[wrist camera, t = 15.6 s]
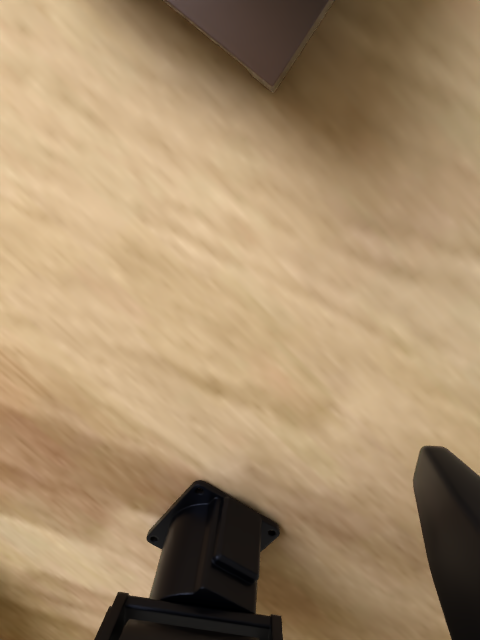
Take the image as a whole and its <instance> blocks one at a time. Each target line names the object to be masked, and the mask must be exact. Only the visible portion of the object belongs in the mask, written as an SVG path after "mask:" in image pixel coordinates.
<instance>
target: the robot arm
mask: <svg viewBox="0 0 480 640" xmlns="http://www.w3.org/2000/svg"><path fill="white" fill-rule="evenodd" d="M413 487H414V493H415V498H416V503H417V508H418V513H419V518H420V523H421V528H422V533H423V538H424V543H425V548H426V553H427V558H428V563H429V567H430V571H431V574H432V578H433V581H434V585H435V588H436V591H437V594H438V597H439V601H440V604H441V607H442V610H443V613H444V616H445V620H446V623H447V626H448V629H449V632H450V636H451V639H452V640H480V476H479V475H477V474H476V473H475V472H474V471H473V470H471V469H470V468H469V467H468V466H467V465H466V464H464V463H463V462H462V461H461V460H460V459H459V458H457V457H456V456H455V455H454V454H453V453H452V452H450V451H449V450H448V449H446V448H445V447H440V446H424V447H422V448H421V450H420V453H419V457H418V461H417V465H416V469H415V473H414V477H413ZM198 488H200V489H198ZM279 534H280V527H279V525H278V524H277V523H275V522H273V521H271V520H270V519H268V518H266V517H265V516H263V515H261V514H259V513H258V512H256V511H254V510H253V509H251V508H249V507H247V506H246V505H244V504H242V503H240V502H239V501H237V500H235V499H234V498H232V497H230V496H228V495H227V494H225V493H223V492H222V491H220V490H218V489H216V488H215V487H213V486H211V485H209V484H208V483H206V482H204V481H201V480H198V481H195V482H193V484H192V485H191V486H190V487H189V488H188V489H187V490H186V491H185V492H184V493H183V494H182V495H181V497H180V498H179V499H178V500H177V501H176V502H175V503H174V504H173V505H172V506H171V507H170V508H169V510H168V511H167V512H166V513H165V514H164V515H163V516H162V517H161V518H160V519H159V520H158V521H157V523H156V524H155V525H154V526H153V527H152V528H151V529H150V530H149V532H148V535H147V541H148V542H149V543H151V544H153V545H155V546H157V547H158V548H160V549H162V552H161V556H160V560H159V563H158V567H157V571H156V575H155V578H154V582H153V586H152V589H151V593H150V597H149V598H143V597H136V596H130V595H129V593H123V592H118V594H117V596H116V598H115V601H114V603H113V605H112V606H110V607H109V609H108V611H107V612H106V615H105V617H104V620H103V622H102V624H101V626H100V628H99V631H98V633H97V635H96V637H95V639H94V640H283V634H282V620H281V616H279V615H273V614H271V616H266V615H259V614H256V596H257V580H258V579H259V570H260V552H261V551H262V550H263V549H265V548H266V547H267V546H268V545H269V544H270V543H271V542H273V541H274V540H275V539H276V538H277V537H278V536H279Z"/></svg>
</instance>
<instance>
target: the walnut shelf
mask: <svg viewBox="0 0 480 640" xmlns="http://www.w3.org/2000/svg"><path fill="white" fill-rule="evenodd" d="M163 1H164V2H165V3H166V4H168V5H169V6H170V7H171V8H173V9H174V10H175V11H176V12H178V13H179V14H180V15H181V16H182V17H184V18H185V19H186V20H187V21H189V22H190V23H191V24H192V25H194V26H195V27H196V28H197V29H199V30H200V31H201V32H202V33H204V34H205V35H206V36H207V37H208V38H210V39H211V40H212V41H213V42H215V43H216V44H217V45H218V46H220V47H221V48H222V49H223V50H225V51H226V52H227V53H228V54H230V55H231V56H232V57H233V58H234V59H236V60H237V61H238V62H239V63H241V64H242V65H243V66H244V67H246V68H247V70H248V71H249V73H250V74H251V76H253V77H254V78H255V79H256V80H258V81H259V82H260V83H261V84H263V85H264V86H265V87H266V88H268V89H269V90H270V91H271V92H273V93H274V92H275V91H276V89H277V88H278V86H279V85H280V83H281V82H282V80H283V79H284V77H285V76H286V74H287V72H288V71H289V69H290V68H291V66H292V65H293V63H294V62H295V60H296V59H297V57H298V56H299V54H300V53H301V51H302V50H303V48H304V46H305V45H306V43H307V42H308V40H309V39H310V37H311V36H312V34H313V33H314V31H315V30H316V28H317V27H318V25H319V24H320V22H321V21H322V19H323V17H324V16H325V14H326V13H327V11H328V10H329V8H330V7H331V5H332V4H333V2H334V1H335V0H163Z"/></svg>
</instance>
